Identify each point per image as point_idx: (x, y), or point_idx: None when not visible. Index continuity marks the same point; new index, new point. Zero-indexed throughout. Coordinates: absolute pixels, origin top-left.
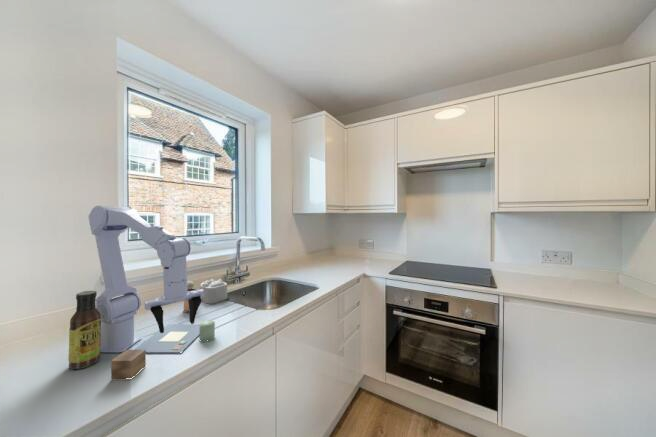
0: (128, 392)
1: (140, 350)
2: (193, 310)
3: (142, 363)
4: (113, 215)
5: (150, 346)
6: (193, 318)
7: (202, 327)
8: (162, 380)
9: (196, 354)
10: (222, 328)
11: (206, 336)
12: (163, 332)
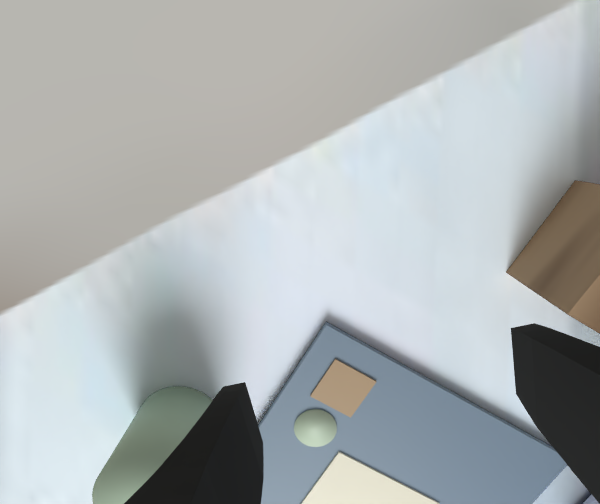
0: (593, 58)
1: (597, 319)
2: (183, 494)
3: (541, 264)
4: None
5: (478, 470)
6: (214, 415)
7: None
8: (431, 80)
9: (245, 267)
10: (88, 496)
11: (176, 407)
12: (515, 327)
